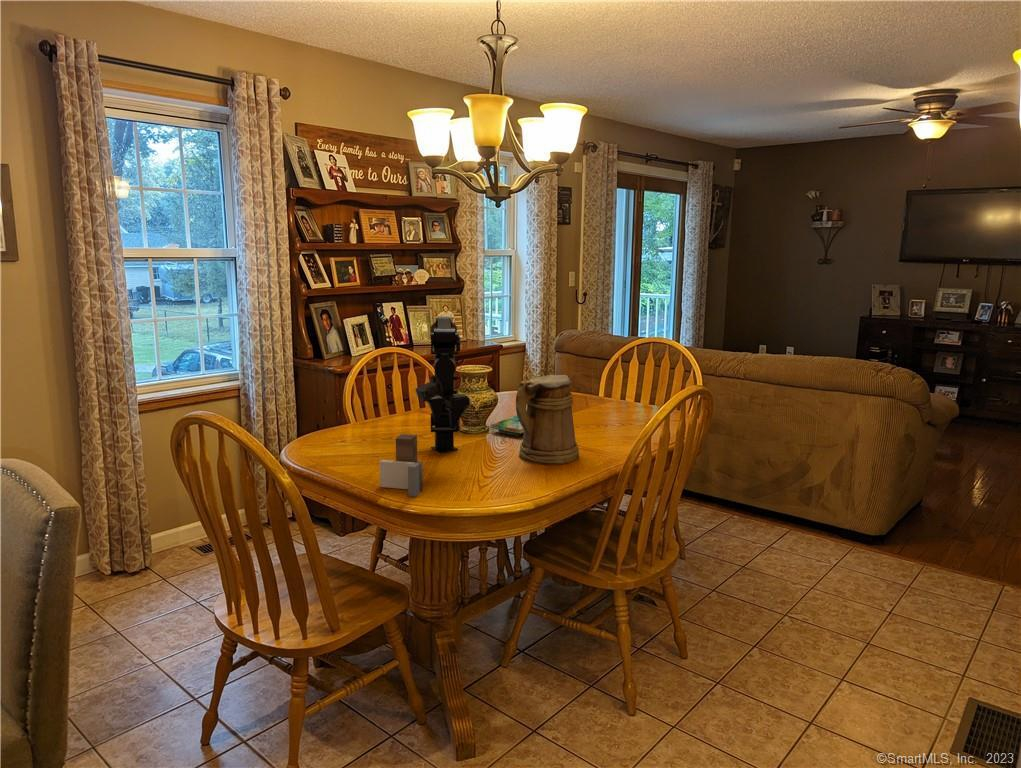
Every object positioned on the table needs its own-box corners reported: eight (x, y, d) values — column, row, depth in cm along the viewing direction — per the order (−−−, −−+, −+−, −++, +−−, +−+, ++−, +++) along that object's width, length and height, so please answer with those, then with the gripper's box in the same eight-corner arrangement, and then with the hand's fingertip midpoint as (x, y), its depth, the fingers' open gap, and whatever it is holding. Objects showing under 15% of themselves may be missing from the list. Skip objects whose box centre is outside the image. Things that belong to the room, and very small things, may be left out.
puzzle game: (550, 415, 251) (520, 427, 235) (550, 428, 252) (519, 440, 236) (522, 411, 258) (491, 421, 241) (522, 423, 258) (491, 435, 242)
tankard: (590, 456, 218) (593, 377, 213) (540, 473, 201) (542, 387, 196) (546, 444, 230) (548, 369, 225) (495, 459, 213) (496, 378, 209)
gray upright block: (415, 497, 180) (415, 467, 179) (408, 496, 181) (407, 466, 179) (419, 493, 183) (419, 463, 182) (412, 492, 184) (411, 462, 182)
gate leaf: (423, 488, 186) (423, 462, 185) (421, 490, 184) (420, 464, 183) (382, 484, 189) (382, 458, 187) (379, 487, 187) (379, 460, 185)
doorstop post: (402, 479, 194) (401, 433, 191) (417, 481, 193) (417, 435, 190) (396, 484, 189) (395, 438, 187) (411, 486, 188) (411, 439, 186)
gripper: (404, 370, 205) (404, 422, 207) (436, 380, 190) (436, 436, 193) (437, 366, 211) (437, 417, 214) (471, 376, 196) (470, 431, 199)
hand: (444, 425), depth 205 cm, fingers open, 9 cm apart
